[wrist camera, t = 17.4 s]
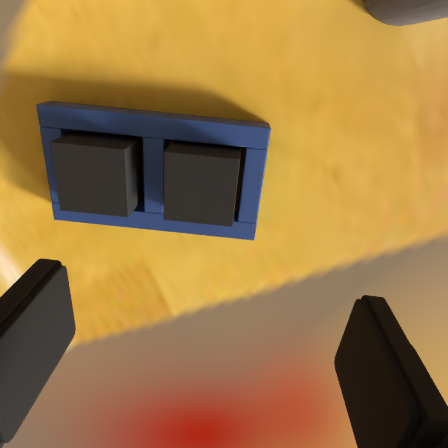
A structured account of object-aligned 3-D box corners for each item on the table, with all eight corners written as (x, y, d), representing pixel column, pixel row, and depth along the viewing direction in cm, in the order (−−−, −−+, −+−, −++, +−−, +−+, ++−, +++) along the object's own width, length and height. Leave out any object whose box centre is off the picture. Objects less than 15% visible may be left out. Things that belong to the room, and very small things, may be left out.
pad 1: (77, 129, 25) (49, 141, 22) (142, 136, 25) (125, 149, 21) (83, 191, 27) (59, 210, 24) (143, 197, 27) (128, 218, 24)
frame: (50, 100, 24) (35, 104, 22) (268, 122, 24) (271, 127, 22) (66, 209, 28) (54, 219, 26) (253, 229, 28) (254, 240, 26)
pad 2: (175, 138, 25) (163, 151, 21) (240, 144, 25) (240, 159, 21) (173, 199, 27) (163, 220, 24) (233, 205, 27) (232, 227, 24)
